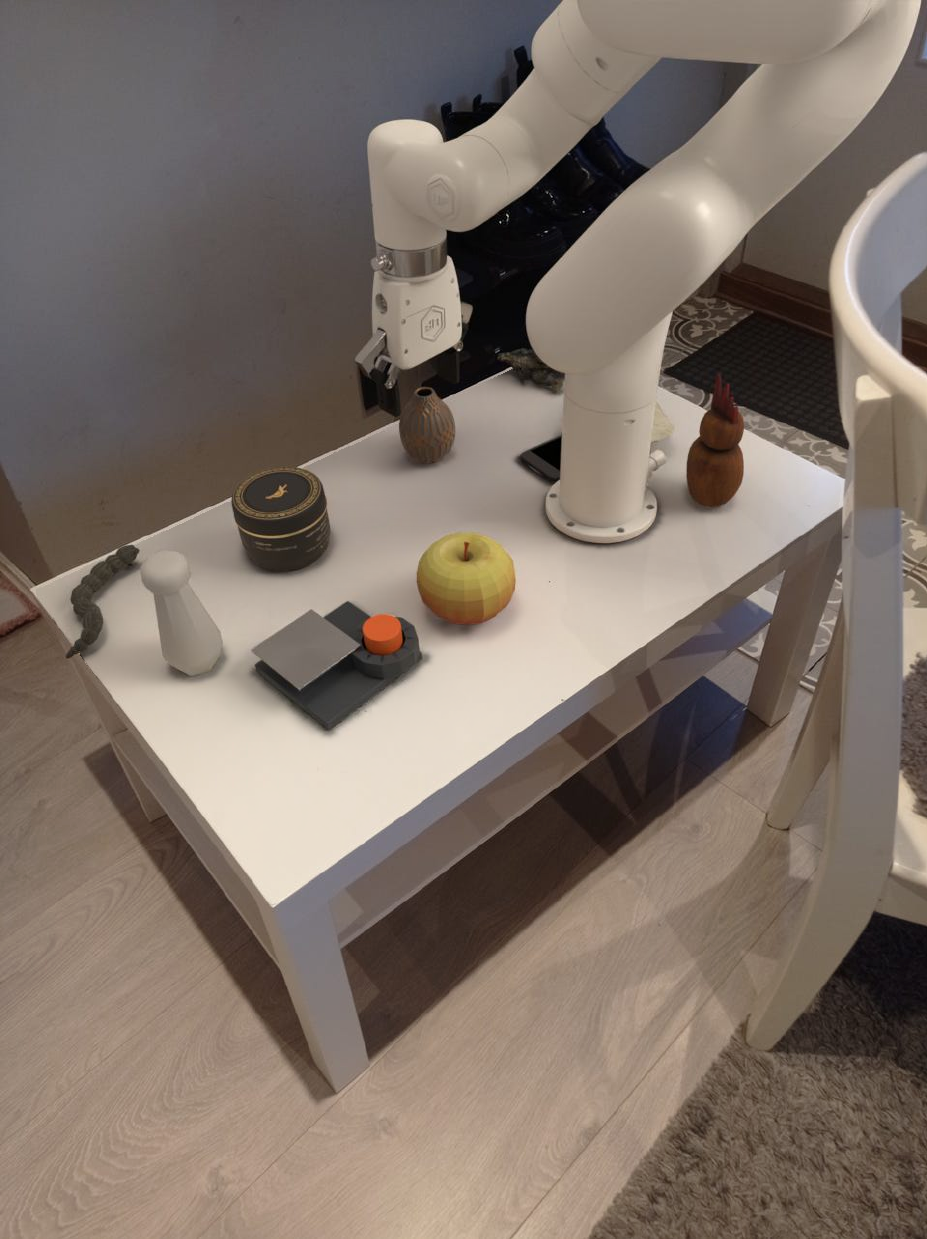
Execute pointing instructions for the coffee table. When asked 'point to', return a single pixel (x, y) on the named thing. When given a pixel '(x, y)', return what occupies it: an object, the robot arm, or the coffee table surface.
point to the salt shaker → (181, 614)
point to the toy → (91, 585)
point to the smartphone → (545, 459)
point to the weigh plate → (306, 649)
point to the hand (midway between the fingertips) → (419, 395)
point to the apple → (466, 578)
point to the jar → (282, 517)
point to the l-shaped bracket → (349, 671)
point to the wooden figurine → (717, 452)
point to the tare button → (382, 634)
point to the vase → (426, 426)
